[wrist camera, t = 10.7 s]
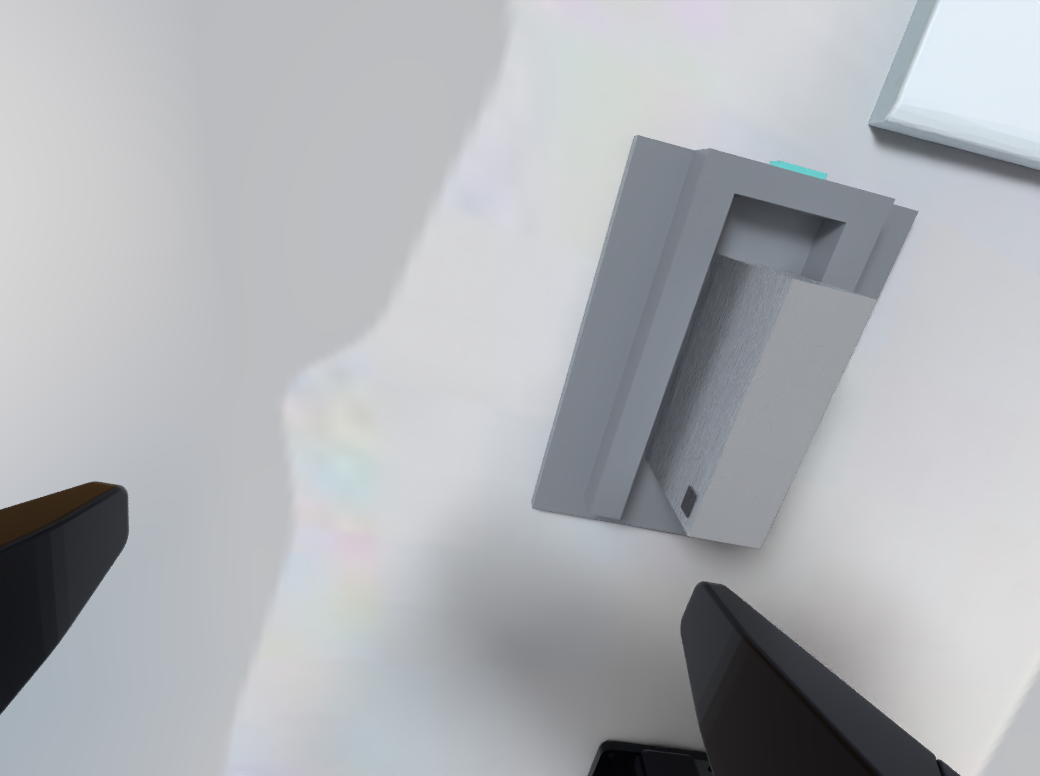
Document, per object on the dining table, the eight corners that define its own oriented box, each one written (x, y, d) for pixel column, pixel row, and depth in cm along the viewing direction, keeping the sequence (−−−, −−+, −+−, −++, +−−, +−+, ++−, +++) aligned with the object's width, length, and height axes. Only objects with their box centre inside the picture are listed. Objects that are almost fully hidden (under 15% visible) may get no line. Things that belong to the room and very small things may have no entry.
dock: (755, 541, 24) (775, 568, 22) (531, 501, 22) (534, 527, 21) (910, 204, 19) (951, 207, 17) (636, 129, 17) (651, 124, 16)
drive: (703, 469, 22) (761, 549, 17) (644, 457, 21) (686, 536, 17) (783, 270, 19) (878, 300, 14) (716, 253, 19) (791, 278, 14)
